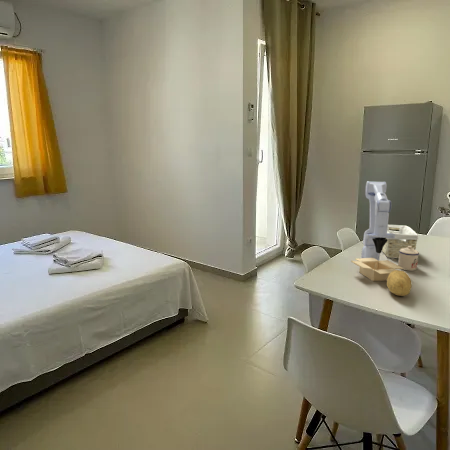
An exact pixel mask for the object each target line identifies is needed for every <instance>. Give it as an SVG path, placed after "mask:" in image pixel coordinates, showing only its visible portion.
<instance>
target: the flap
mask: <svg viewBox="0 0 450 450" xmlns="http://www.w3.org/2000/svg"><path fill="white" fill-rule="evenodd" d="M351 263H353V264H354V265H356V266H358V267H359V268H360V267H361V268H362V269H369V270H372V268H371V267H369V266H367V265H366V264H364V263H362V262H360V261H357V260H351Z"/></svg>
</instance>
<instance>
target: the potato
mask: <svg viewBox="0 0 450 450" xmlns="http://www.w3.org/2000/svg"><path fill="white" fill-rule="evenodd" d="M412 285H413V283H412V279H411V277H410V276H409V274H408V273H407V272H405V270H401V269H395V271H392V272H391V273H390V274H389V276H388V278H387V280H386V286H387V288H388V291H389V292H390V293H392V294H394V295H396V296H399V297H405V296H408V295H409V294H410V293H411V289H412Z"/></svg>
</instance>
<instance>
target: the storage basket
mask: <svg viewBox="0 0 450 450" xmlns="http://www.w3.org/2000/svg"><path fill="white" fill-rule="evenodd" d="M390 230H395V231H396V230H397V231H399V232H391V231H390ZM387 233H393V234H395V238H386V239H387V242H386V244H385V245H384V247H383V249H382V251H381V252H383V253H384V255H385V256H386V257H387V258H389V259H399V253H400V252H399V251H400V249H404V248H408V246H412V248H413V249H414V250H417V249H416V248H417V242H418V240H419V234H418V233H417V232H416V231H415V230H413V228H411V227H410V226H407V225H399V224H388V228H387Z"/></svg>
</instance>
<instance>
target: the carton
mask: <svg viewBox="0 0 450 450" xmlns="http://www.w3.org/2000/svg"><path fill="white" fill-rule="evenodd" d="M354 259H355V260H354V261H360V262H362V263H364V264H366V265H367V266H369V267H371V268H372V270H369V269H362V268H361V267H359V270H358V271H359V272H358V273H360V274H361V275H363V276H364V277H366V278H367V279H369V280H371V281H372V282H376V281H377V282H380V281H381V282H382V281H387V278H388V276H389V274H390V273H391V272H392V271H395V270H403V268H402V267H400V266H398V264H397V263H395V262H392V261H391V260H388V259H386V260H385V259H384V260H383V259H382V260H379V261H378V260H376V259H375V258H361V257H360V258H354Z"/></svg>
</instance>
